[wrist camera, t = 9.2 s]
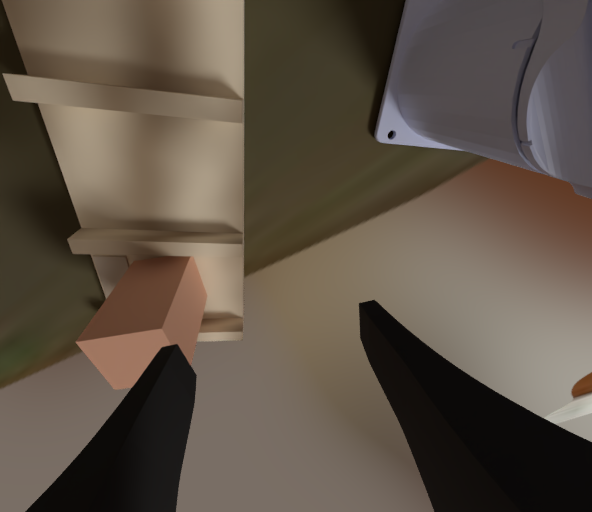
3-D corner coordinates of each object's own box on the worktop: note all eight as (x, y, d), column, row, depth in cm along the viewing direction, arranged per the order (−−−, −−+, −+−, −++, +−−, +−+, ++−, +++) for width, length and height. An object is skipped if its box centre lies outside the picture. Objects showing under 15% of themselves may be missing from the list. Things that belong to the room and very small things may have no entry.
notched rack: (244, -128, 11) (241, -180, 9) (243, 318, 24) (242, 340, 22) (-49, -201, 9) (-138, -286, 7) (121, 319, 22) (107, 343, 20)
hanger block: (191, 252, 19) (162, 328, 13) (207, 295, 21) (188, 377, 15) (133, 261, 18) (75, 342, 12) (155, 303, 21) (114, 390, 15)
